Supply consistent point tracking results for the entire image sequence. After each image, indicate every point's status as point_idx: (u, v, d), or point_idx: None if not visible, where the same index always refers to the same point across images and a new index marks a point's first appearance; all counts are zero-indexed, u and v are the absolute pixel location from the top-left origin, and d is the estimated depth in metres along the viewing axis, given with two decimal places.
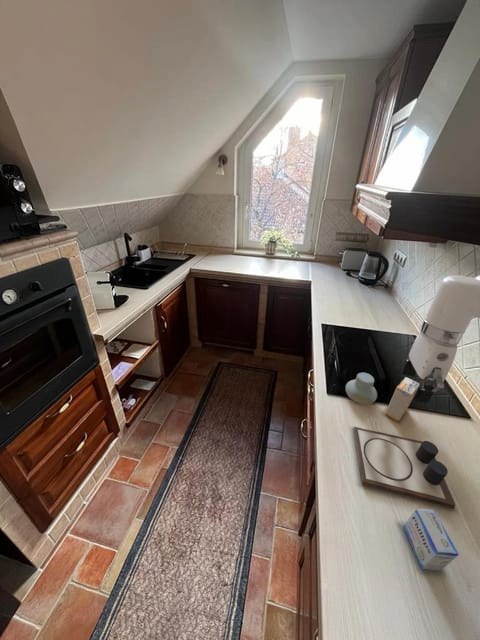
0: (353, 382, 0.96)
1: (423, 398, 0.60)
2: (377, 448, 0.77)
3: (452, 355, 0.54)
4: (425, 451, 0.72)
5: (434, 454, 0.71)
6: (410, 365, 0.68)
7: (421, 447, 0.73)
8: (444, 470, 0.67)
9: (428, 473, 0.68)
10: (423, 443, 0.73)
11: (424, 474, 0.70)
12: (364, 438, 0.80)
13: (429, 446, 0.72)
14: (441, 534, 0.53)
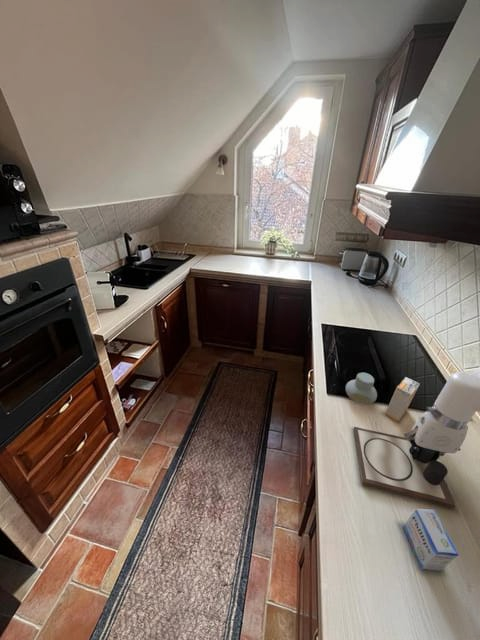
0: (353, 382, 0.96)
1: (410, 450, 0.75)
2: (377, 448, 0.77)
3: (426, 424, 0.67)
4: (423, 450, 0.72)
5: (432, 453, 0.71)
6: None
7: None
8: (444, 470, 0.67)
9: (428, 473, 0.68)
10: None
11: (424, 474, 0.70)
12: (364, 438, 0.80)
13: None
14: (441, 534, 0.53)
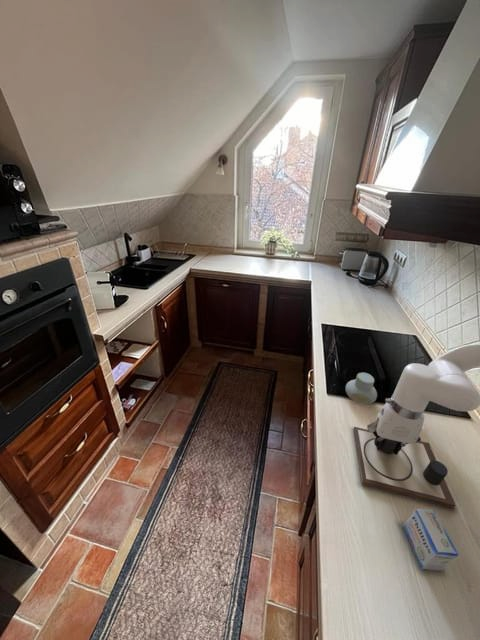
0: (353, 382, 0.96)
1: (375, 441, 0.77)
2: None
3: (385, 415, 0.69)
4: (385, 441, 0.74)
5: (394, 444, 0.73)
6: None
7: None
8: (444, 470, 0.67)
9: (428, 473, 0.68)
10: None
11: (424, 474, 0.70)
12: (364, 438, 0.80)
13: None
14: (441, 534, 0.53)
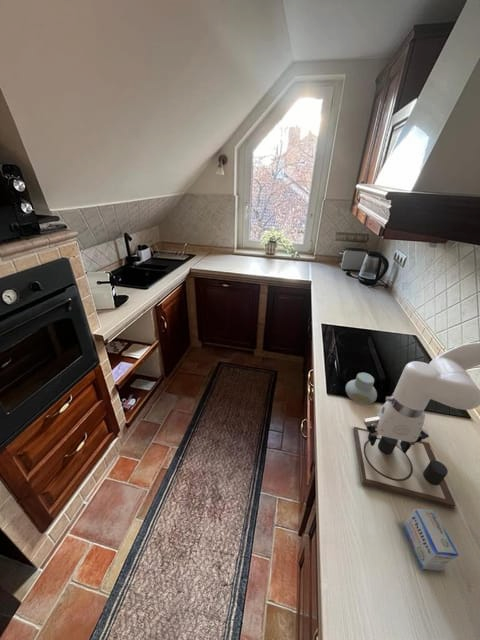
0: (353, 382, 0.96)
1: (369, 436, 0.76)
2: (377, 448, 0.77)
3: (385, 413, 0.69)
4: (384, 442, 0.74)
5: (393, 445, 0.73)
6: None
7: (382, 438, 0.75)
8: (444, 470, 0.67)
9: (428, 473, 0.68)
10: None
11: (424, 474, 0.70)
12: (364, 438, 0.80)
13: None
14: (441, 534, 0.53)
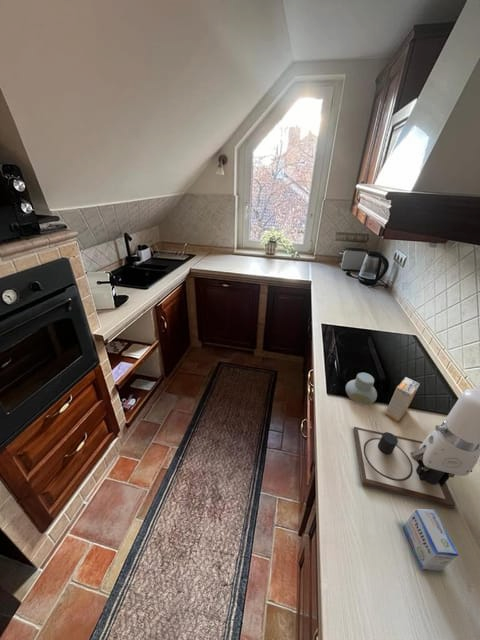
0: (353, 382, 0.96)
1: (417, 470, 0.70)
2: (377, 448, 0.77)
3: (435, 444, 0.62)
4: (384, 442, 0.74)
5: (393, 445, 0.73)
6: None
7: (382, 438, 0.75)
8: None
9: None
10: (384, 434, 0.75)
11: None
12: (364, 438, 0.80)
13: (389, 437, 0.75)
14: (441, 534, 0.53)
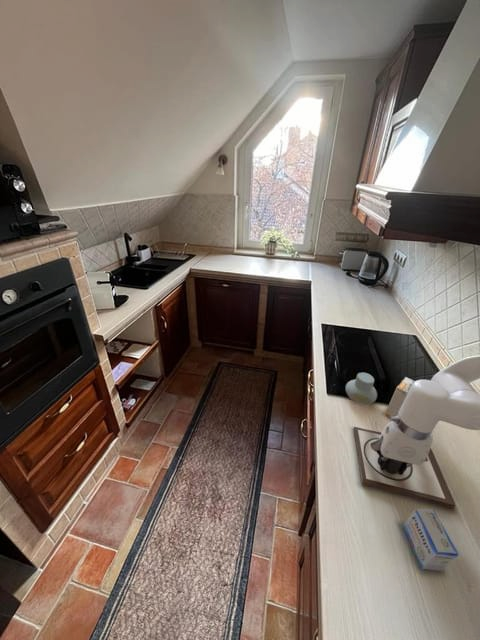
0: (353, 382, 0.96)
1: (378, 460, 0.72)
2: None
3: (390, 434, 0.64)
4: None
5: None
6: None
7: None
8: None
9: None
10: None
11: None
12: (364, 438, 0.80)
13: None
14: (441, 534, 0.53)
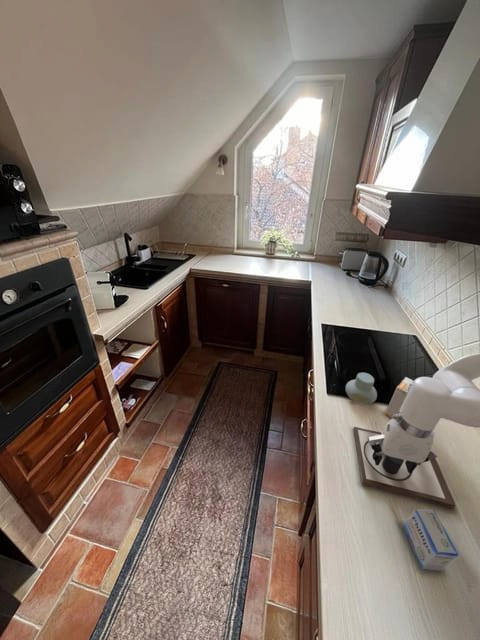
0: (353, 382, 0.96)
1: (373, 455, 0.71)
2: None
3: (391, 432, 0.64)
4: None
5: None
6: None
7: None
8: (400, 459, 0.69)
9: (386, 463, 0.70)
10: None
11: (383, 463, 0.72)
12: (364, 438, 0.80)
13: None
14: (441, 534, 0.53)
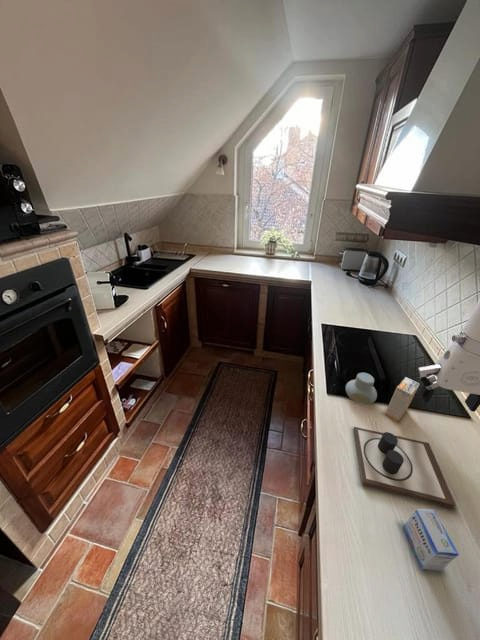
0: (353, 382, 0.96)
1: (421, 392, 0.61)
2: (377, 448, 0.77)
3: (452, 357, 0.54)
4: (384, 442, 0.74)
5: (393, 445, 0.73)
6: (473, 394, 0.59)
7: (382, 438, 0.75)
8: (400, 459, 0.69)
9: (386, 463, 0.70)
10: (384, 434, 0.75)
11: (383, 463, 0.72)
12: (364, 438, 0.80)
13: (389, 437, 0.75)
14: (441, 534, 0.53)
